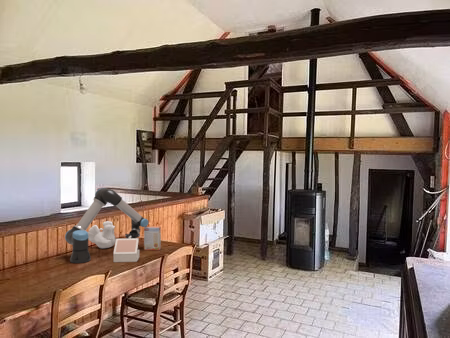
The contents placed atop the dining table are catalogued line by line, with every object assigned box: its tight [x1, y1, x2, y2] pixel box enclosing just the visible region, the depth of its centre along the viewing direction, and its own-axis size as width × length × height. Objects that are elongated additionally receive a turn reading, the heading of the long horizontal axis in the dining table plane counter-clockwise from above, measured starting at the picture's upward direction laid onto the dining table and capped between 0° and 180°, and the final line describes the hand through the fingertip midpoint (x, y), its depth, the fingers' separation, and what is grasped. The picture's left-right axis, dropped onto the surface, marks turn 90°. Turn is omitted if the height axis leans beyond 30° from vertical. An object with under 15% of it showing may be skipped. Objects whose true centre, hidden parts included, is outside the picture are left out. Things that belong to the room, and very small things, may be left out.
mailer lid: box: [113, 237, 140, 255], centre depth 280 cm, size 14×18×1 cm
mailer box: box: [113, 249, 140, 263], centre depth 282 cm, size 14×18×6 cm
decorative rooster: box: [87, 220, 117, 249], centre depth 323 cm, size 25×16×25 cm, turn 81°
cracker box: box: [143, 225, 162, 251], centre depth 315 cm, size 14×6×21 cm, turn 84°
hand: (129, 239), depth 292 cm, fingers closed
